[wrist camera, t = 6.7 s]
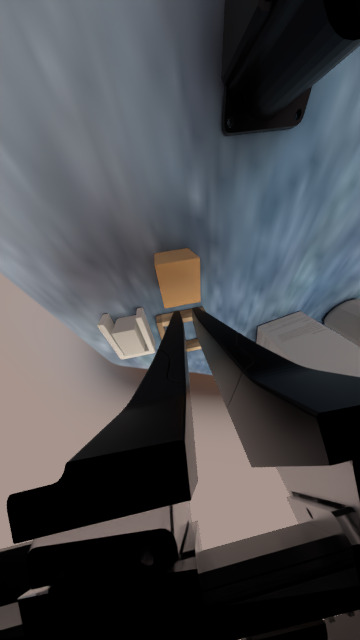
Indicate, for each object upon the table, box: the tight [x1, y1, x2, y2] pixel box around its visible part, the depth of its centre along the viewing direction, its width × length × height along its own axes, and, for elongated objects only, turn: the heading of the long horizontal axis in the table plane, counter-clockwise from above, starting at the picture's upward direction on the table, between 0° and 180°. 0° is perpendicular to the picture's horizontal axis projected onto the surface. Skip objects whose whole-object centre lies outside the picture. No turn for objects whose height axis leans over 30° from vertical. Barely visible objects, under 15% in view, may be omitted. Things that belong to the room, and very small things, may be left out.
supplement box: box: [256, 311, 360, 377], centre depth 22 cm, size 9×9×15 cm
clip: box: [97, 307, 155, 360], centre depth 20 cm, size 6×8×2 cm
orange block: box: [154, 248, 200, 308], centre depth 14 cm, size 4×4×5 cm
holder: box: [156, 307, 205, 352], centre depth 22 cm, size 8×8×2 cm
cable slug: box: [112, 315, 146, 356], centre depth 20 cm, size 3×5×4 cm, turn 7°
